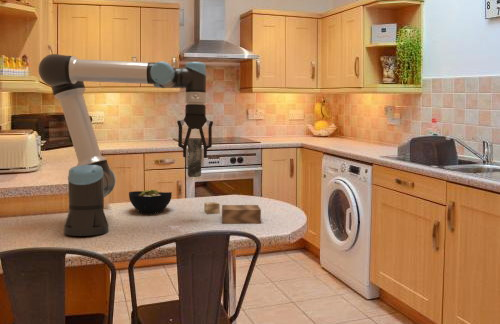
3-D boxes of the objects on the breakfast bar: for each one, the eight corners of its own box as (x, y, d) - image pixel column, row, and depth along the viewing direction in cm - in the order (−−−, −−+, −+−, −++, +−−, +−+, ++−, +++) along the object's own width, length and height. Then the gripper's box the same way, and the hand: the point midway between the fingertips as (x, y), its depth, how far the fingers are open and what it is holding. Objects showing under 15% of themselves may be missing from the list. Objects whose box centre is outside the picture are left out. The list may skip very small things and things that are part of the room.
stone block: (186, 177, 199) (201, 177, 199) (186, 138, 198) (200, 138, 199) (188, 175, 208) (202, 175, 208) (188, 138, 207) (202, 138, 208)
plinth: (222, 223, 199) (222, 210, 198) (222, 217, 213) (222, 205, 212) (260, 223, 200) (260, 209, 199) (257, 217, 213) (257, 204, 213)
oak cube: (207, 216, 216) (207, 204, 216) (204, 214, 221) (204, 202, 221) (219, 216, 218) (219, 203, 217) (216, 214, 222) (216, 202, 222)
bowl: (164, 217, 212) (164, 192, 211) (122, 216, 215) (122, 191, 214) (176, 211, 229) (176, 188, 228) (138, 210, 231) (137, 187, 231)
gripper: (170, 103, 198) (169, 166, 200) (219, 104, 200) (219, 167, 201) (171, 104, 206) (171, 165, 207) (219, 105, 207) (218, 166, 208)
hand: (194, 166), depth 204 cm, fingers closed on stone block, 5 cm apart
